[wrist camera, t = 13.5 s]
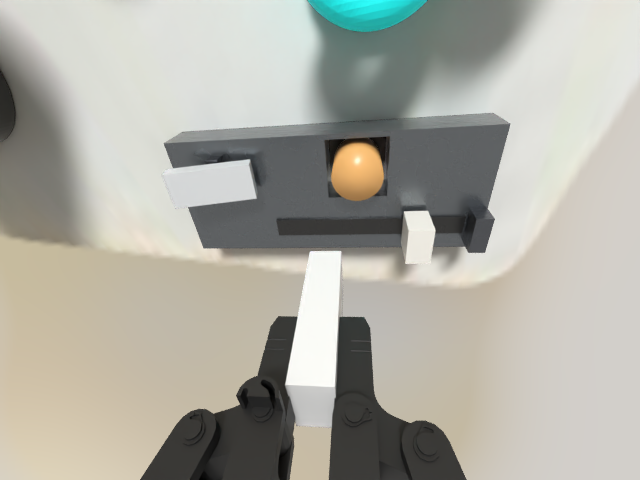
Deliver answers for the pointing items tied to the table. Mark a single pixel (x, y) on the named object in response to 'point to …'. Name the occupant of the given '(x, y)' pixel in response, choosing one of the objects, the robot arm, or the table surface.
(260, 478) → the robot arm
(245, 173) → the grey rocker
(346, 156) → the orange button
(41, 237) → the table surface
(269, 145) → the console panel
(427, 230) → the slider knob
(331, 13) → the donuts
